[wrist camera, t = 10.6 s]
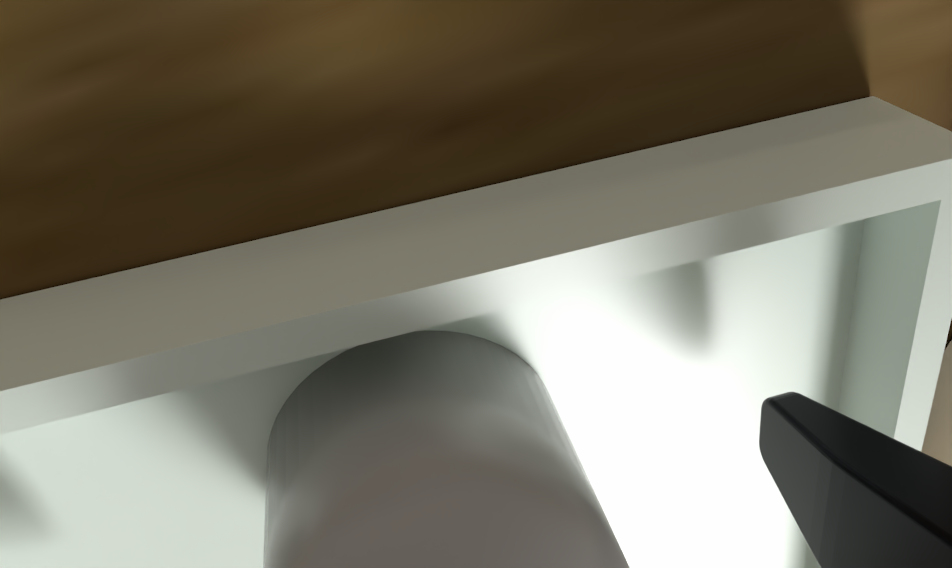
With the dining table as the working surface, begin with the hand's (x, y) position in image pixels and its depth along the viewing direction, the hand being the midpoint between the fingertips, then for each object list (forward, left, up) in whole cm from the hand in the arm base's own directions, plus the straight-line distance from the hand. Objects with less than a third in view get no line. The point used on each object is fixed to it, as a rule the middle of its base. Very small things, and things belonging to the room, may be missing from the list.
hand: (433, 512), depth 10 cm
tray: (-3, 0, -2) cm, 4 cm away
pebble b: (0, 0, -1) cm, 1 cm away
